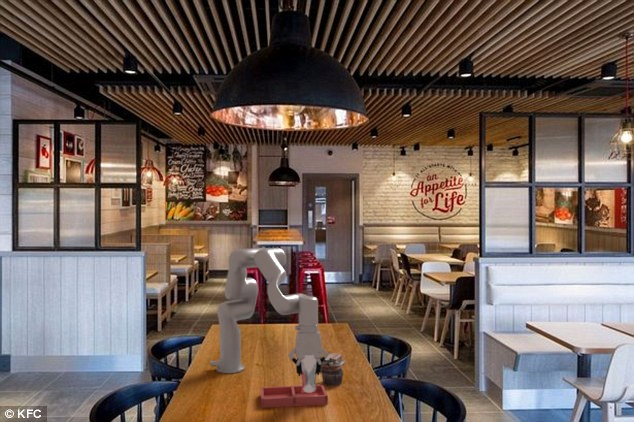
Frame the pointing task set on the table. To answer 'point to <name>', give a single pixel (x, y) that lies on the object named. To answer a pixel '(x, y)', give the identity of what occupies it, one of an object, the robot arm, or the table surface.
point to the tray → (292, 396)
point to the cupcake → (331, 372)
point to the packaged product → (335, 356)
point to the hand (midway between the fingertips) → (308, 374)
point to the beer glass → (308, 374)
